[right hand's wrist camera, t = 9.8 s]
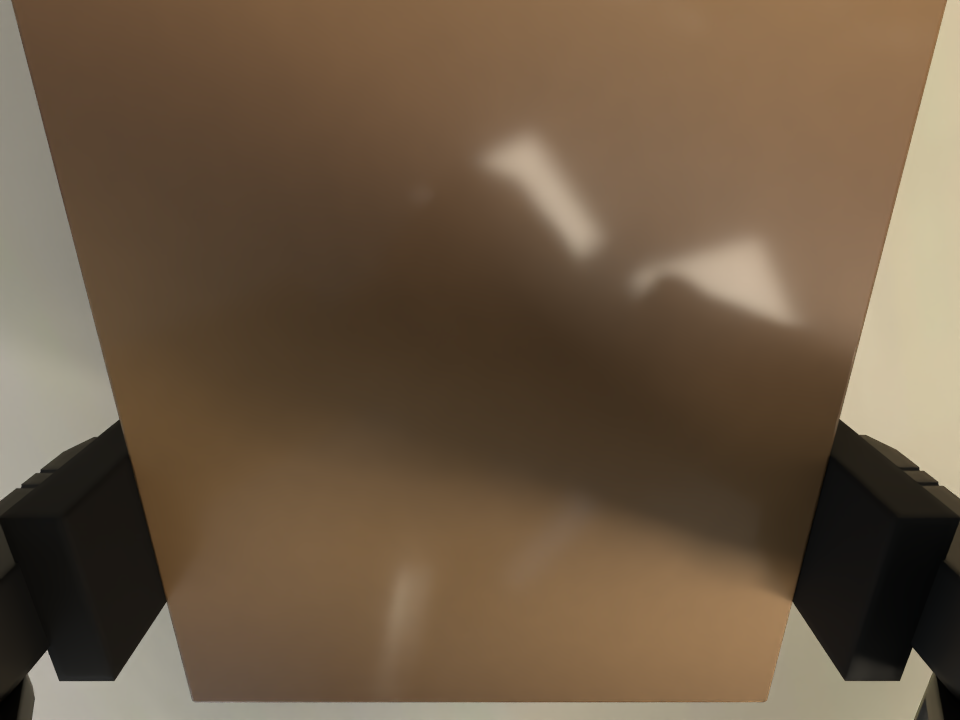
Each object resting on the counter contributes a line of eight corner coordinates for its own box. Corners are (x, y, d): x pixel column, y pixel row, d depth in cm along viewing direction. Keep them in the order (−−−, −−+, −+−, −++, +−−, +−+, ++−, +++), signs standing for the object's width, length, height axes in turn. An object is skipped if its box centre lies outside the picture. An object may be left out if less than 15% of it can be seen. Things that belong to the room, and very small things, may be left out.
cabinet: (219, -370, 11) (-396, -1552, 3) (739, -369, 11) (1352, -1550, 3) (317, 452, 18) (191, 704, 10) (641, 452, 18) (767, 704, 10)
